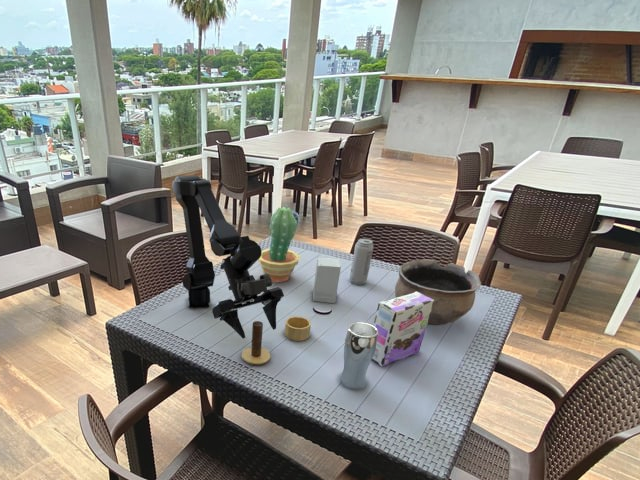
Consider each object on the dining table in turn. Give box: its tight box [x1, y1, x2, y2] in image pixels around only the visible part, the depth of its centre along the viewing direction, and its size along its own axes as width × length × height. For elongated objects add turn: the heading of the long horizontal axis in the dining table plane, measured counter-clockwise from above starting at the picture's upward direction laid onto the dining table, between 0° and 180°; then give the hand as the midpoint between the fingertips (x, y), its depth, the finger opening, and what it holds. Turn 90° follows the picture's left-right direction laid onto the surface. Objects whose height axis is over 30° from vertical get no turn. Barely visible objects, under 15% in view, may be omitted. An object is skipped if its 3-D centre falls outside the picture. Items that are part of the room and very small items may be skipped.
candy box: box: [371, 292, 434, 367], centre depth 112 cm, size 14×6×16 cm, turn 117°
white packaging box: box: [312, 257, 342, 304], centre depth 142 cm, size 7×7×13 cm
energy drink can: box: [349, 238, 375, 285], centre depth 152 cm, size 6×6×15 cm
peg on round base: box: [241, 320, 271, 365], centre depth 113 cm, size 8×8×11 cm
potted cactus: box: [257, 206, 301, 283], centre depth 152 cm, size 15×15×25 cm
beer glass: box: [339, 321, 378, 390], centre depth 103 cm, size 7×7×15 cm
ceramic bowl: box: [394, 258, 482, 326], centre depth 130 cm, size 22×22×15 cm
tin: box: [284, 315, 312, 342], centre depth 124 cm, size 7×7×4 cm
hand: (259, 333), depth 110 cm, fingers open, 9 cm apart
